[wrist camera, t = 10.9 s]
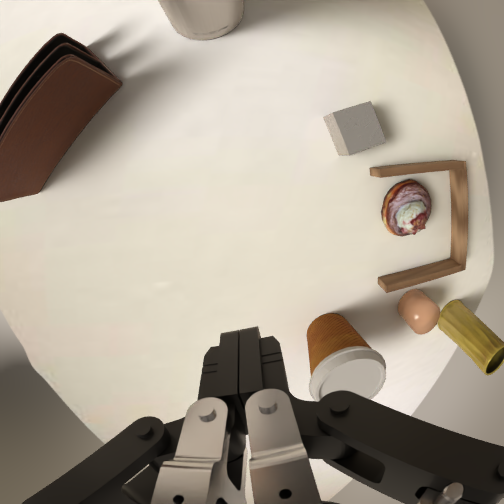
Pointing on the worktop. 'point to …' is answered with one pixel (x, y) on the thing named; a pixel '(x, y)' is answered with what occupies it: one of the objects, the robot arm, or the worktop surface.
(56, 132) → the letter holder
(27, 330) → the worktop surface
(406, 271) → the display bay
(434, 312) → the peach rounded blob
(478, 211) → the worktop surface
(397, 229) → the pastry
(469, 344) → the vase
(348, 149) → the gray block
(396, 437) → the robot arm
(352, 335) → the disposable coffee cup
